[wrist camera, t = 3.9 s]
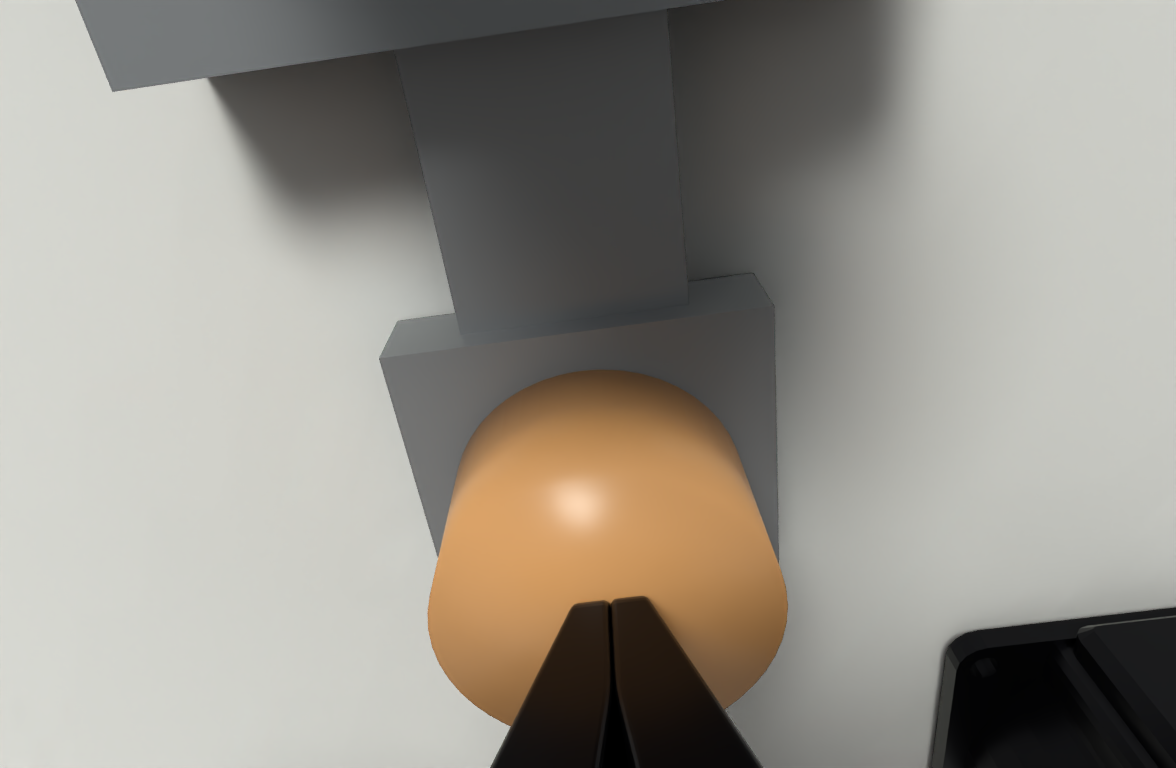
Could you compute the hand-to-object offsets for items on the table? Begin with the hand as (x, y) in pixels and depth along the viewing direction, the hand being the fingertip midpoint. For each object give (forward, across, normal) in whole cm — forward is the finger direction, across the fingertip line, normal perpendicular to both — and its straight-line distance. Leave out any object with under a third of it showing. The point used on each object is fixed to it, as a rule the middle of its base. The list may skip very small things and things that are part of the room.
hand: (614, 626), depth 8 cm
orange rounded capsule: (+4, 0, 0) cm, 4 cm away
